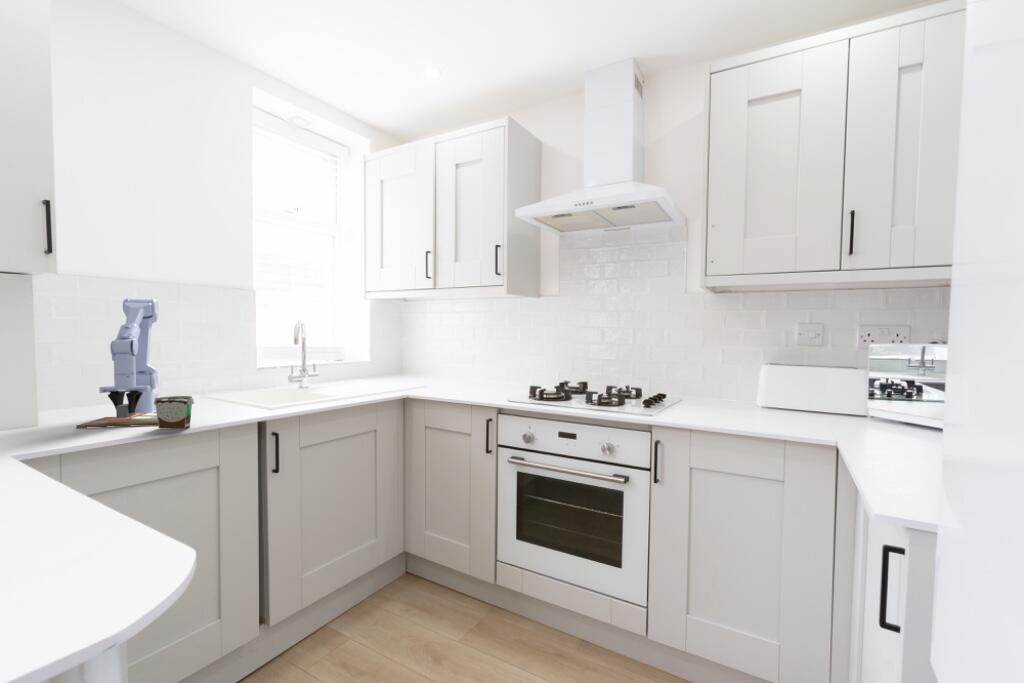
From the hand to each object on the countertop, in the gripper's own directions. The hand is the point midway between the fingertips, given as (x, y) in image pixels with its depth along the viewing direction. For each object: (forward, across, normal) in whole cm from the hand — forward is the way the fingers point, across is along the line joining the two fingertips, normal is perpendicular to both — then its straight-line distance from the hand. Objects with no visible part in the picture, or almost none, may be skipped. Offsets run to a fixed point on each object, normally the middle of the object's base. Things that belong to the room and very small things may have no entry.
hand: (126, 413), depth 159 cm
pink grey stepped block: (+2, 0, 0) cm, 2 cm away
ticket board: (+3, +2, 0) cm, 4 cm away
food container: (+4, +22, -11) cm, 25 cm away
